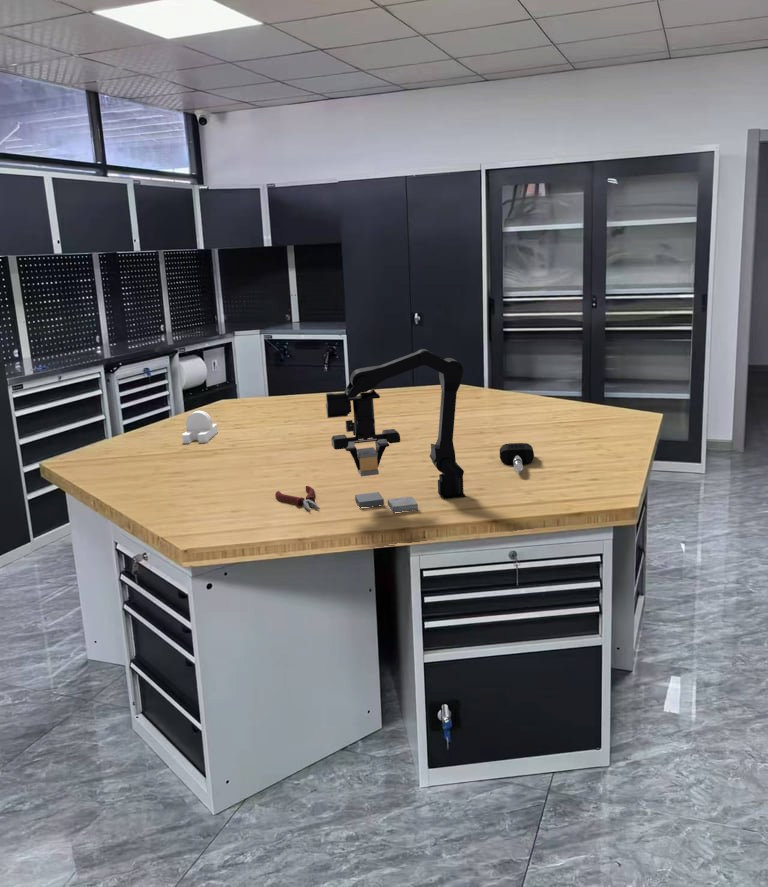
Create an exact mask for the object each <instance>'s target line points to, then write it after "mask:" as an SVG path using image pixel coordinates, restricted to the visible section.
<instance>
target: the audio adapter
mask: <svg viewBox="0 0 768 887" xmlns="http://www.w3.org/2000/svg"><path fill="white" fill-rule="evenodd" d="M533 448H534V447H533V446H532V445H531V444H529V443H527V442H525V443H524V442H514V443H513V442H508V443H504V444H503V445H501V447H500V448H499V459H500V461H501V463H502V464H503V465H505V466H513V469H514V471H515V473H519V474H520V473H522V471H523V470H524V466H528V465H531V463H532V462H533V461H534V458H535V452H534V449H533Z"/></svg>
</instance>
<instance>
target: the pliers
mask: <svg viewBox="0 0 768 887" xmlns="http://www.w3.org/2000/svg"><path fill="white" fill-rule="evenodd" d="M305 492H306V493H307V495H306V497H305V498H304V497H303V496H301V497H300V496H294V495H290V494H284V493H282V492H281V491H279V490H277V491H276V492H275V498H276V500H278V501H279V502H282V503H287V504H292V505H295V506H296V507H297V508H298V507H301V506H302V505H303V506H302V507H303V508H304V509H305V510H307V511H308V512H311V507H312V509H314V508H315V509H316V510H321V507H319V506H318V504H317V503H316V497H315V495H316V491H315V489H314V488H313V487H311V486H309V485H305Z"/></svg>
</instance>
